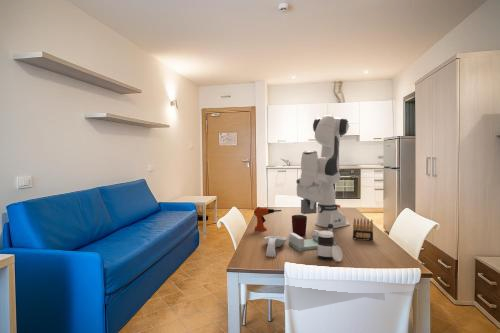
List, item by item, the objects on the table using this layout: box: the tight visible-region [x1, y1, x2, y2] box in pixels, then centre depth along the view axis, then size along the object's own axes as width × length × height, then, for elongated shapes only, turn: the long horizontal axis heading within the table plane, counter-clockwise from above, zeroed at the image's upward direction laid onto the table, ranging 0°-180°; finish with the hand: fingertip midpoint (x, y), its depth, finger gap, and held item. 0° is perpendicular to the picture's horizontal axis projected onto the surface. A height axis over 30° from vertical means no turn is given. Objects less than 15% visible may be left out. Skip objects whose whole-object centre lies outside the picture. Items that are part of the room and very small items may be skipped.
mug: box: [291, 214, 308, 238], centre depth 173 cm, size 12×9×11 cm
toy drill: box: [253, 206, 282, 232], centre depth 180 cm, size 5×19×15 cm, turn 67°
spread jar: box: [316, 230, 343, 262], centre depth 135 cm, size 12×11×12 cm
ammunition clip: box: [352, 217, 374, 241], centre depth 163 cm, size 11×2×12 cm, turn 72°
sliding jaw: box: [311, 224, 335, 241], centre depth 156 cm, size 10×11×9 cm
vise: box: [288, 232, 337, 252], centre depth 153 cm, size 22×11×6 cm, turn 109°
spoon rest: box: [263, 235, 287, 258], centre depth 148 cm, size 24×12×7 cm, turn 169°
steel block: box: [300, 199, 318, 215], centre depth 151 cm, size 8×3×7 cm, turn 109°
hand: (308, 207), depth 151 cm, fingers closed on steel block, 3 cm apart
